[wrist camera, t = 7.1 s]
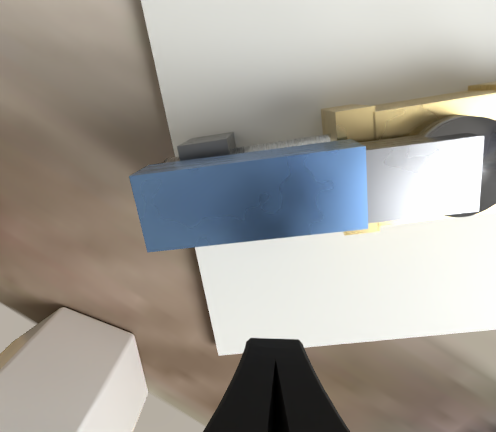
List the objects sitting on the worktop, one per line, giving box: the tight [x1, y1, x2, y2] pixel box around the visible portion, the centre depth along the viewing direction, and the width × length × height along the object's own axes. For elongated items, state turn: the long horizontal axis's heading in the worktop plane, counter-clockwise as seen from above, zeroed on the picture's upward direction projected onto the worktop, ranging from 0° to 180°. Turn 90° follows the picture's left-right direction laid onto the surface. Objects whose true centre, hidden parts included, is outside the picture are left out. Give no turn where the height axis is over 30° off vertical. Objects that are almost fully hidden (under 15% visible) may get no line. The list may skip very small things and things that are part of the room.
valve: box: [164, 81, 496, 236], centre depth 15 cm, size 18×5×4 cm, turn 99°
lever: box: [129, 115, 496, 252], centre depth 12 cm, size 13×3×2 cm, turn 98°
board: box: [141, 0, 496, 355], centre depth 17 cm, size 18×19×1 cm
